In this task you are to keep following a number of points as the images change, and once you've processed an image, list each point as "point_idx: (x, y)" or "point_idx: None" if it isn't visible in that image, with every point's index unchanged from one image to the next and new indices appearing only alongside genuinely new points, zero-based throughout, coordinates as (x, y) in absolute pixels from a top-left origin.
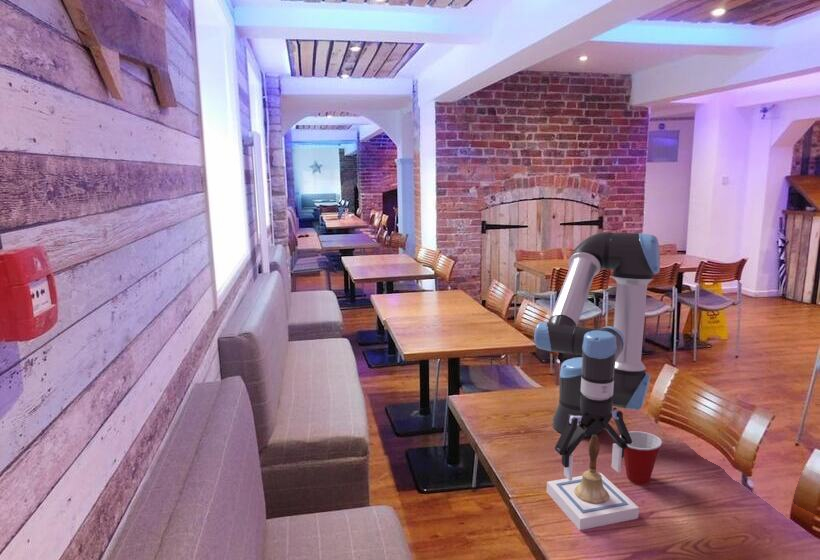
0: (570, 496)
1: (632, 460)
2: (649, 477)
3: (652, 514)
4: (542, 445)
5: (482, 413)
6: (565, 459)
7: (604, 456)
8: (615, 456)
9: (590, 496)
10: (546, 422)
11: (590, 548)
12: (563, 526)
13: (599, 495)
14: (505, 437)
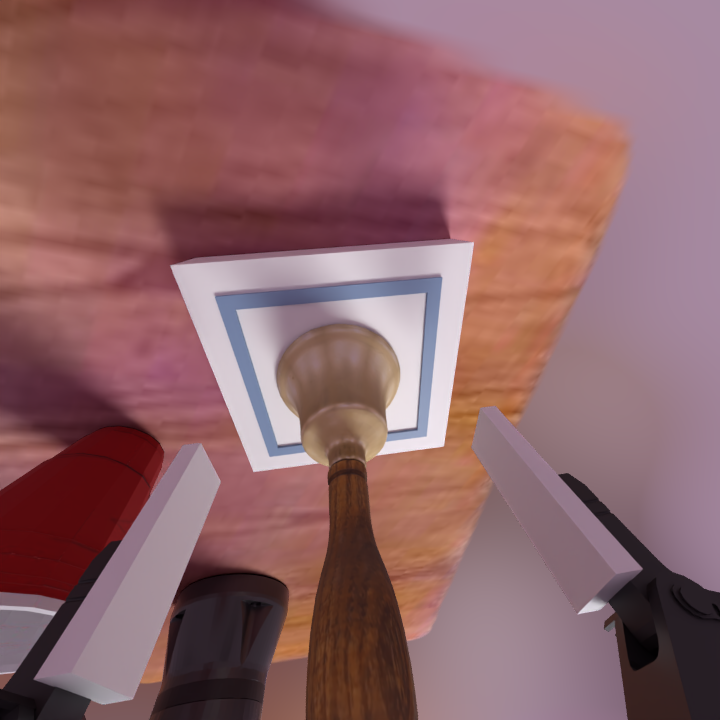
0: (423, 375)
1: (94, 515)
2: (72, 445)
3: (123, 271)
4: None
5: (404, 613)
6: (630, 536)
7: (203, 526)
8: (168, 552)
9: (370, 352)
10: (296, 603)
11: (482, 111)
12: (486, 271)
13: (334, 349)
14: (403, 569)
